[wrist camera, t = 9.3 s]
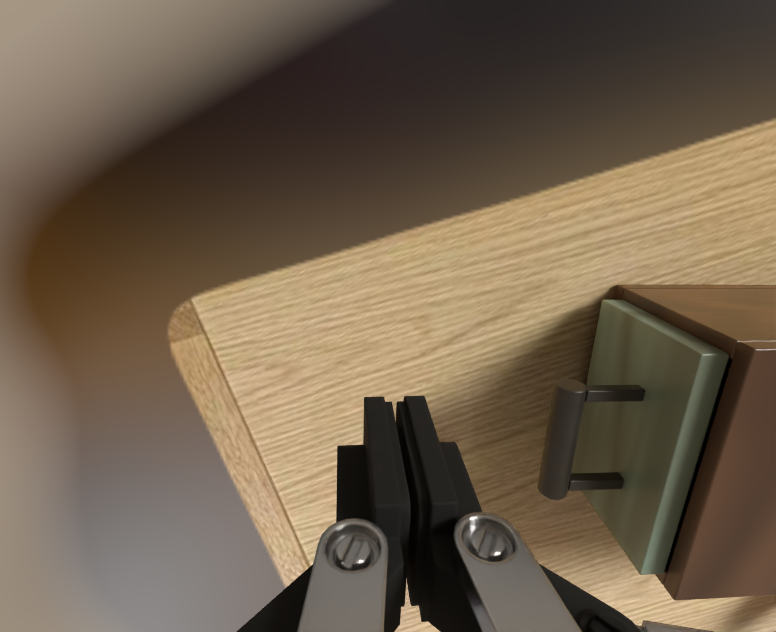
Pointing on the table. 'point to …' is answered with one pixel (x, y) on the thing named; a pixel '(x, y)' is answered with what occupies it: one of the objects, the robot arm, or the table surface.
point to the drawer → (635, 429)
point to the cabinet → (727, 442)
